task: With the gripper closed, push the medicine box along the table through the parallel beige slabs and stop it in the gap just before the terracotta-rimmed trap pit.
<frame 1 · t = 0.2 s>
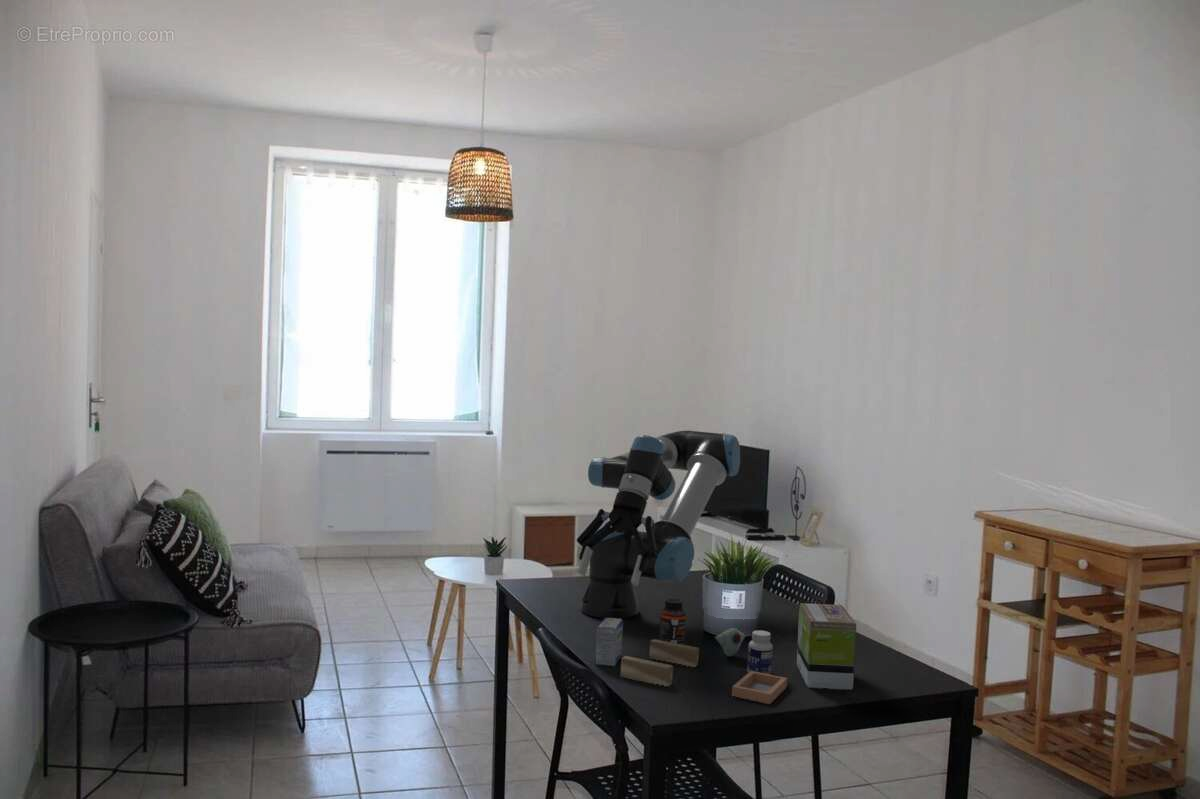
hand: (607, 579, 233), 16 cm above the table, tool tilted 30°, fingers open, 13 cm apart
parallel beige slabs: (660, 671, 219), on the table
pale green rounded piece: (730, 657, 232), on the table
supplement bottle: (671, 648, 236), on the table
tea box: (823, 678, 220), on the table
medicine box: (608, 661, 225), on the table
pill bottle: (759, 673, 221), on the table
trap pit: (759, 691, 209), on the table
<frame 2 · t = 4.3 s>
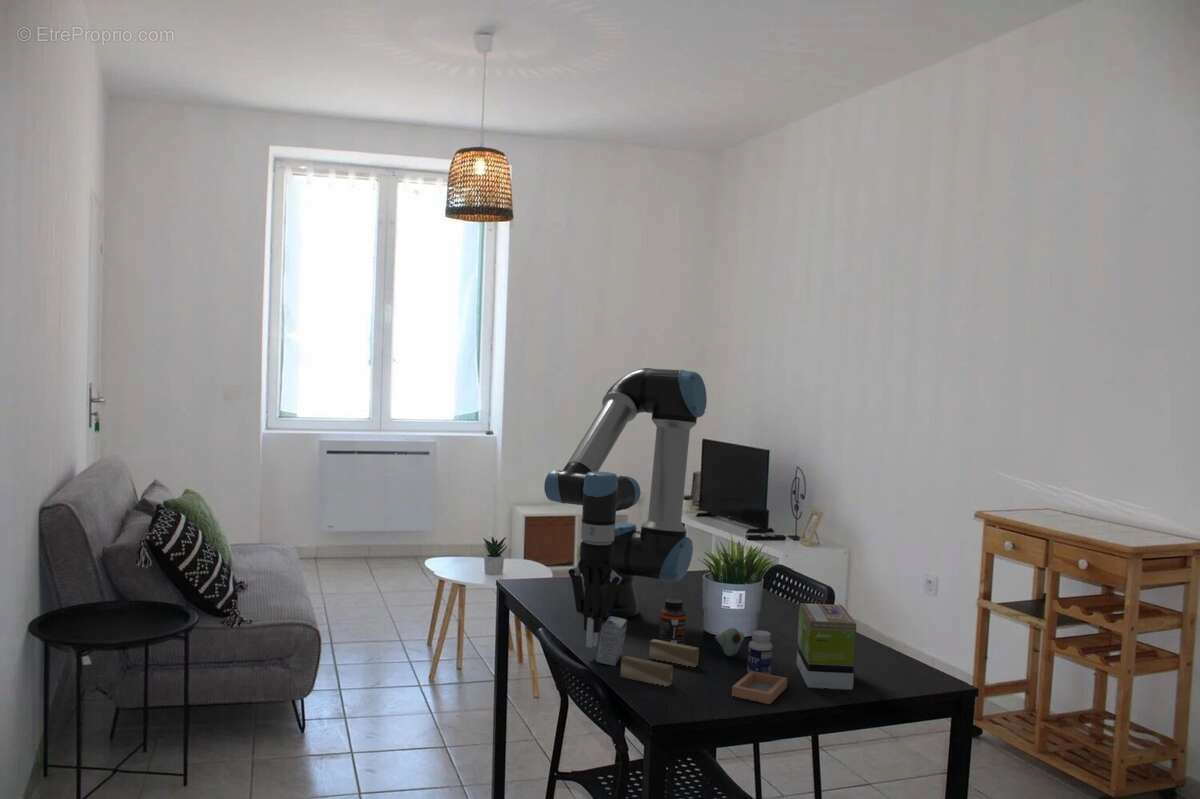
hand: (591, 645, 226), 3 cm above the table, tool pointing down, fingers closed
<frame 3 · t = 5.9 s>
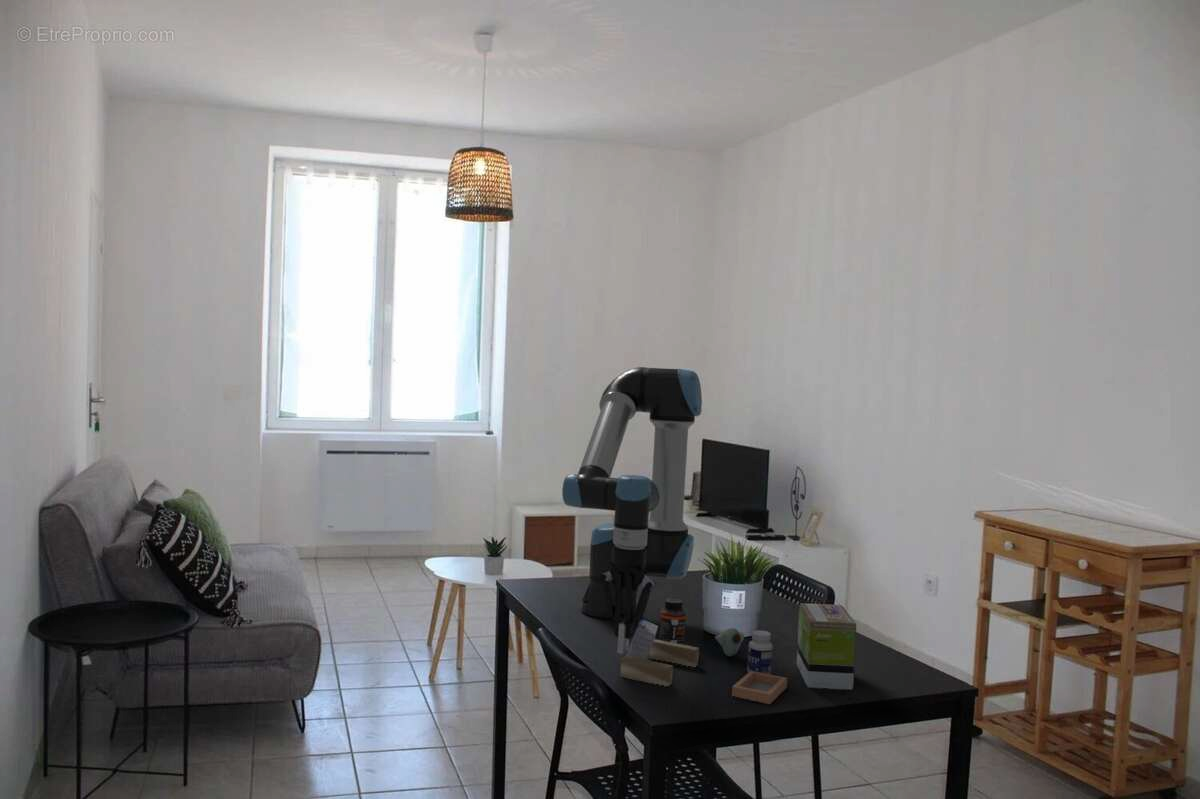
hand: (622, 651, 222), 3 cm above the table, tool pointing down, fingers closed
medicine box: (633, 663, 222), on the table, touching gripper
everything else where it was.
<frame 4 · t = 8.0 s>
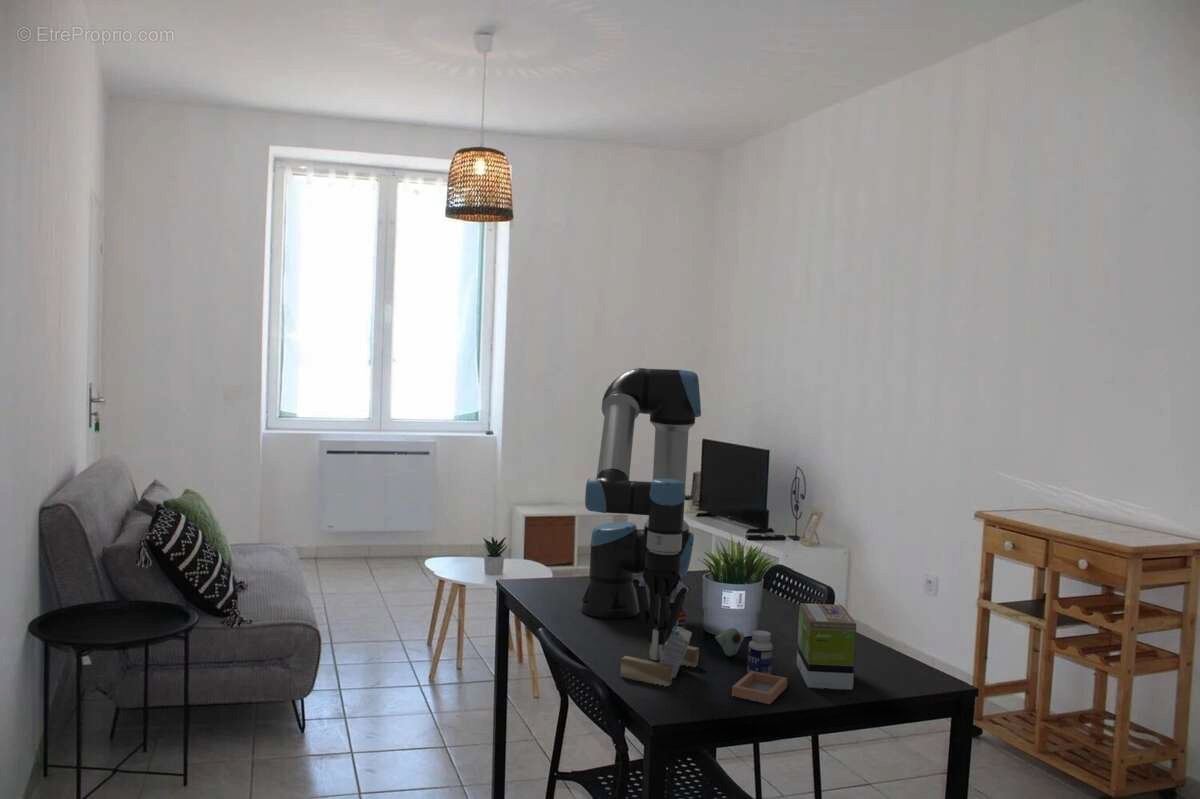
hand: (656, 658, 219), 3 cm above the table, tool pointing down, fingers closed
medicine box: (666, 670, 218), on the table, touching gripper
everything else where it was.
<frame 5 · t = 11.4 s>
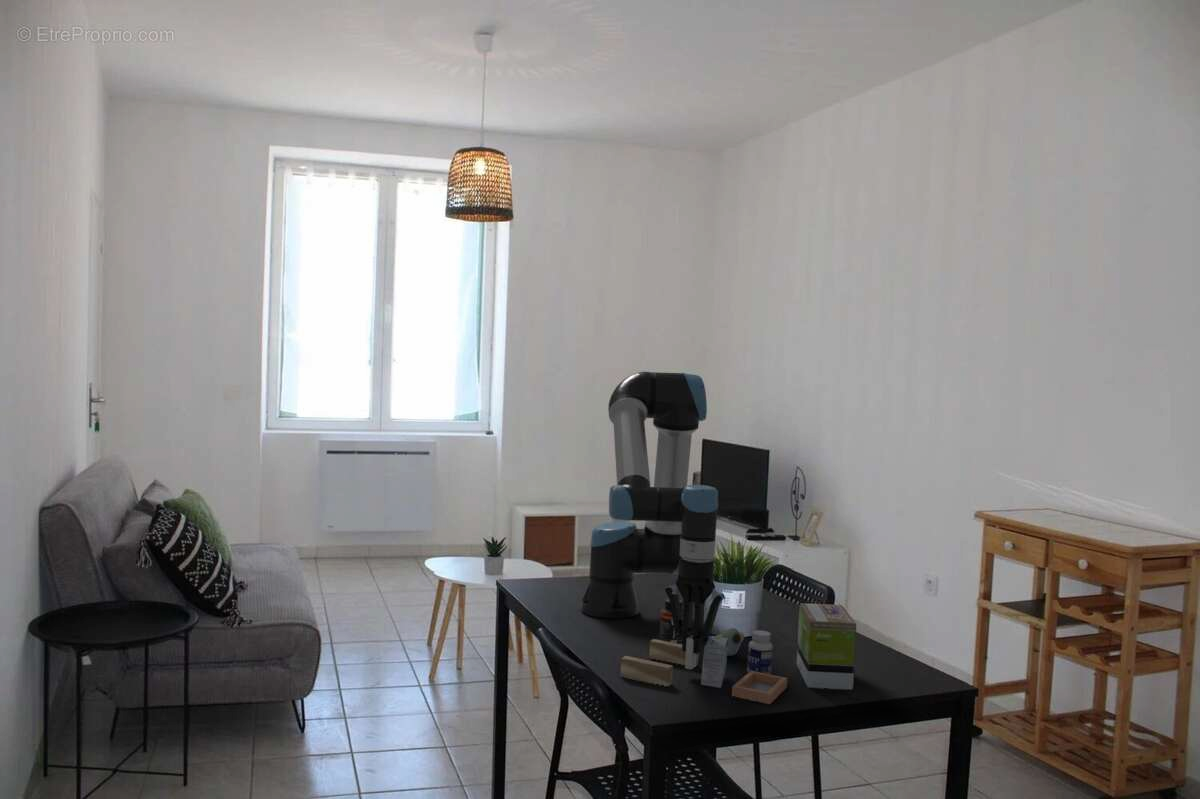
hand: (690, 667, 216), 2 cm above the table, tool pointing down, fingers closed
medicine box: (712, 682, 214), on the table
everything else where it was.
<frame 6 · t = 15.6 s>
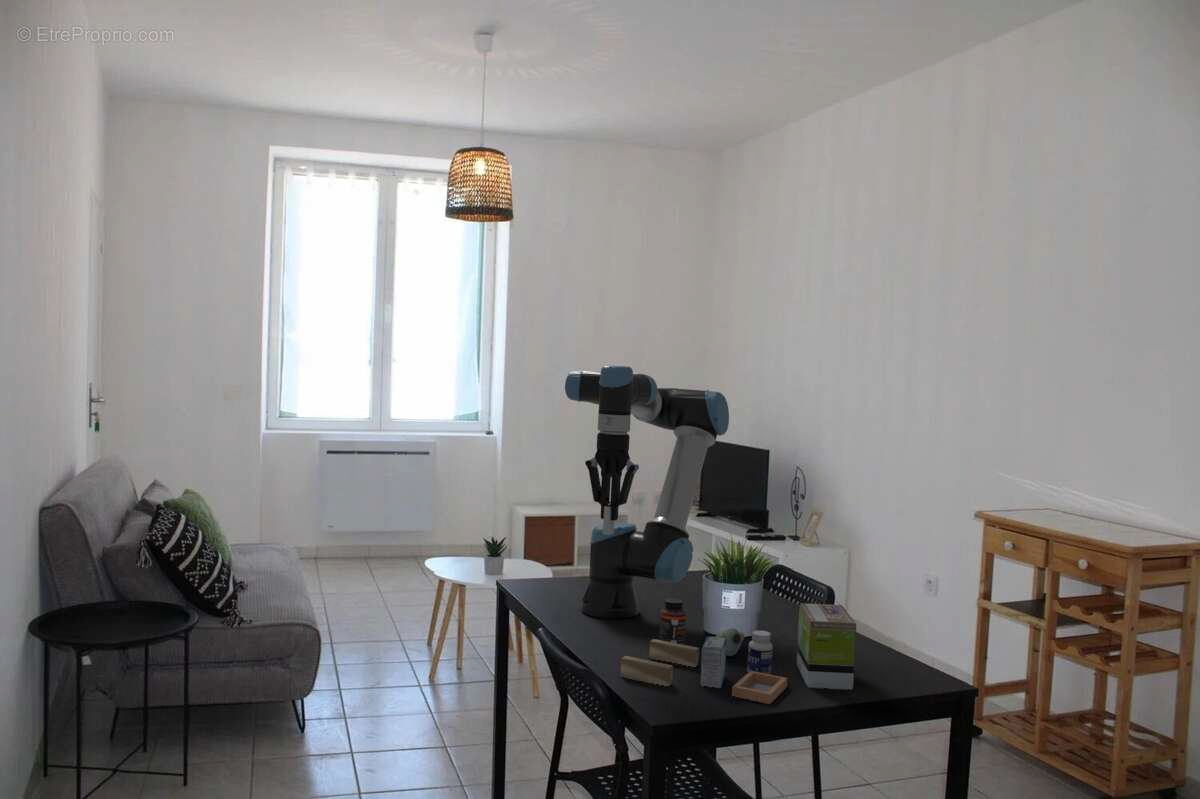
hand: (608, 533, 234), 26 cm above the table, tool pointing down, fingers closed
nothing on the table moved.
at the end: medicine box inside the target area (0.4 cm from its centre), on the table; medicine box tilted 0°; medicine box touching table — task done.
